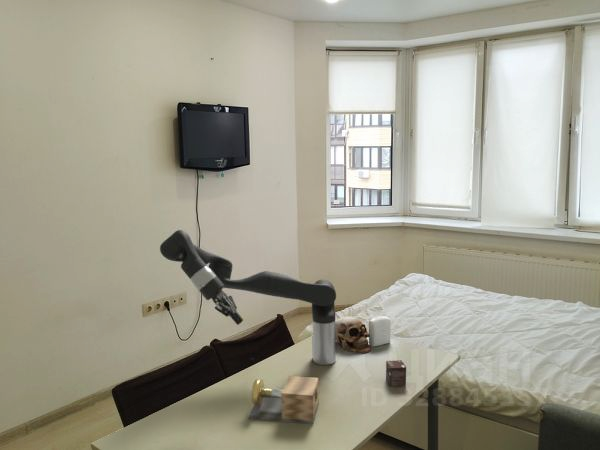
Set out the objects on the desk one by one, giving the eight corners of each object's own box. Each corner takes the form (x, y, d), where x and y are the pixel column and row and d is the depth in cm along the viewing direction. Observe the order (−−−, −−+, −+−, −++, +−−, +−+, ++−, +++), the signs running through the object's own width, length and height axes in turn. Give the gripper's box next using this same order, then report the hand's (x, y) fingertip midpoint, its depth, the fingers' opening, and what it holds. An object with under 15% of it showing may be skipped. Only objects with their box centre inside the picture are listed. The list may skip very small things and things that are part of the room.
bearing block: (248, 418, 154) (247, 390, 153) (258, 399, 166) (257, 373, 164) (313, 423, 150) (312, 395, 149) (318, 404, 162) (318, 377, 160)
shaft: (252, 409, 155) (251, 386, 154) (258, 397, 163) (258, 375, 162) (301, 413, 152) (301, 389, 151) (306, 400, 160) (305, 378, 159)
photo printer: (372, 347, 208) (373, 320, 206) (367, 344, 212) (367, 317, 210) (392, 343, 213) (392, 316, 211) (386, 340, 216) (386, 313, 215)
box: (385, 379, 179) (385, 360, 178) (401, 378, 179) (401, 359, 178) (389, 387, 173) (390, 367, 172) (406, 386, 173) (406, 366, 172)
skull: (369, 353, 202) (366, 322, 201) (329, 354, 206) (326, 323, 205) (374, 340, 217) (371, 312, 216) (336, 341, 221) (333, 313, 220)
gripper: (205, 286, 167) (237, 324, 166) (192, 293, 154) (226, 335, 153) (221, 272, 166) (253, 311, 165) (209, 278, 153) (244, 320, 152)
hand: (240, 322), depth 159 cm, fingers closed
